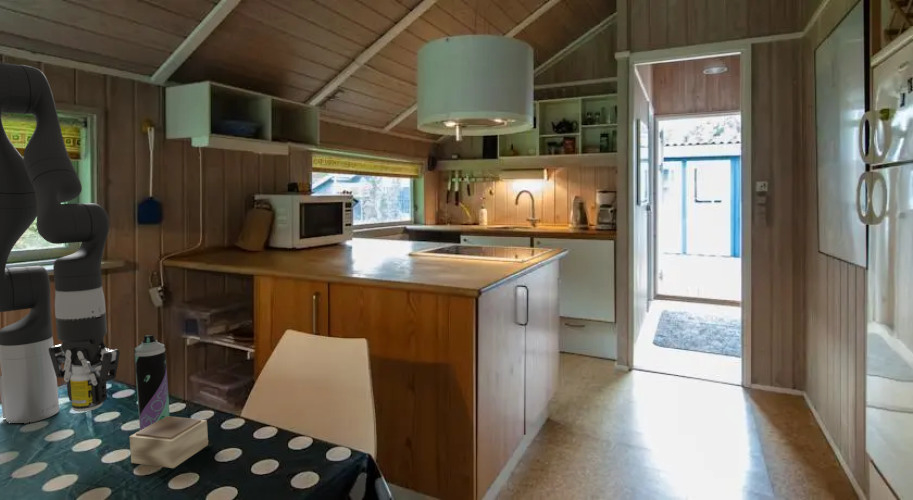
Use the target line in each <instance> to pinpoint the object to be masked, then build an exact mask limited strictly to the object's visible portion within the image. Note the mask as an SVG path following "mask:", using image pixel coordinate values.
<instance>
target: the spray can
mask: <svg viewBox="0 0 913 500" xmlns="http://www.w3.org/2000/svg"><path fill="white" fill-rule="evenodd" d="M154 336H155V335H154V334H152V335H144V336H143V340H142V341H141V343H140V344H139V345H138V346H136V347H134V352H133V356H134V366H135V368H134V369H135V381H136V393H137V394H136V397H137V409H138V411H137V412H138V419H139V420H138V421H139V431H140V430H142V429H144V428H146V427H148V426H150V425H152V424H153V423H155V422H157V421H159V420H161V419H163V418H165V417H166V416H171V414H170V400H169V388H168V387H169V386H168V373H167V372H168V371H167V359H166V358H167V357H166V356H167V355H166V347H165V344H164V343H160V342H158V340H157V339H156V338H155V337H154Z"/></svg>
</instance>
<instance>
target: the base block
mask: <svg viewBox="0 0 913 500" xmlns="http://www.w3.org/2000/svg"><path fill="white" fill-rule="evenodd" d="M208 435H209V434H208V420H207V419H199V418H191V417H189V418H188V417H180V416H171V415H170V416H166V417H165V418H163V419H161V420H159V421H157V422H155V423H153V424H152V425H150V426H148V427H146V428H144V429H142V430H140V429H139V431H136V432H135V433H133V434H131V435H130V436H128V437H129V450H130V462H131V464H138V465H139V464H140V465H146V466H155V467H162V468H169V469H175V468H176V467H178V466H179V465H181V464H182V463H184V462H185V461H186V460H188V459H189V458H191V457H192V456H194V455H195V454H197V453H198V452H200V451H201V450H203V449H204V448H206V447H208V446H209V437H208Z"/></svg>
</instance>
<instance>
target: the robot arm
mask: <svg viewBox="0 0 913 500" xmlns="http://www.w3.org/2000/svg"><path fill="white" fill-rule="evenodd" d="M2 113H7V114H21V115H33V116H34V119H35V122H36V125H35V128H34V131H33V133H32V135H31V137H30V138H29V140H28V142H27V143H26V146H25V149H24V153H23V156H22V155H21V153H20V151H18V150H17V148H16V147H15V146H14V143H12V141H11V140H10V138H9V137H8V134H7V133H6V130H5V128H4V125H3V120H2ZM61 128H62V127H61V125H60V120H59V115H58V111H57V108H56V103H55V100H54V96H53V92H52V89H51V86H50V84H49V80H48V79H47V77H46V75H45V74H44V73H43V72H42V71H41V69H39V68H37V67H33V66H29V65H25V64H16V63H8V62H0V313H3V312H4V313H5V312H11V311H20V310H29V309H30V311H29V312H28V313H27V315H25V316H23V317H22V318H21V319H19V320H17V321H15V322H14V323H11V324H8V325H7V326H5V327H2V328H1V329H0V372H1V376H0V400H1V411H2V419H3V418H6V419H5V420H6V421H7V422H10V423H24V424H30V423H35V422H39V421H43V420H45V419H48V418H50V417H53V416H54V415H56V414H57V413H59V412H60V404H59V389H58V380H57V379H64V382H65V383H66V388H67V389H66V390H67V396H68V400H69V401H70V402H72V395H71V381H70V378H71V376H72V375H73V373H72V365H79V366H83V368H84V370H85V373H86V374H88V375H89V377H90V379H91V382H92V384H93V385H91V387H92V400H93V404H99V403H102V402H103V403H104V402H105V401H106V400H107V397H108V391H107V382H108V381H111V380H114V379H116V377H117V371H118V366H119V359H120V353H121V352H120V350H119V349H117V348H115V349H111V348H110V349H109V348H108V347H107V345H106V344H105V341H104V338H105V336H106V335H107V333H108V328H107V327H108V326H107V325H108V324H107V313H106V310H107V309H106V298H105V293H104V290H103V279H102V278H103V277H102V276H103V275H102V260H103V255H104V252H105V251H104V250H105V247H106V242H107V239H108V235H109V230H110V218H109V215H108V212H107V211H106V209H104V207H102V206H101V205H100V204H97V203H92V202H87V203H85V202H84V203H83V202H81V203H79V202H78V203H67V202H70V201H72V200H75V199H76V198H78V197H79V196H80V195H81V193H82V190H83V189H82V187H83V186H82V182H81V181H80V178H79V176H78V173H77V171H76V169H75V167H74V164H73V162H72V160H71V158H70V155H69V152H68V150H67V147H66V144H65V141H64V137H63V132H62V129H61ZM34 221H36V229H37V232H38V234H39V236H40V237H41V238H42V239H43V240H45V241H46V242H48V243H50V244H56V245H61V244H63V245H64V244H72V243H75V244H76V243H81V244H80V246H79V247H78V250H76V252H75V251H74V253H71V254H69V255H65V256H64V255H63V256H60V257H59V258H57V259H55V260H54V261H53V279H54V292H55V293H54V311H55V312H54V314H55V325H56V338H57V340H58V341H59V342H62V343H60V344H57V345H54V339H53V336H54V335H53V324H52V310H51V309H52V306H51V281H50V276H49V273H48V271H47V269H46V268H45V267H44V266H42V265H30V266H29V265H28V266H27V265H26V266H15V267H6V266H7V263H8V258H9V257H10V254H11V252H12V250H13V249H14V247H15V246H16V244H17V242H18V241H19V240H20V239H21V237H22V236H23V235H24V234H25V233H26V231H28V229H29V228H30V227H31V225H32V224H33V223H34ZM97 363H98V366H97V367H95V368H92V367H91V366H93V365H96V364H97ZM62 364H63V369H62V366H61V365H62ZM96 371H98V372H99V375H100V377H97V374H96ZM6 421H5V422H6ZM7 422H6V423H7ZM29 422H30V423H29ZM10 423H9V424H10Z"/></svg>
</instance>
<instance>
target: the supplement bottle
mask: <svg viewBox="0 0 913 500" xmlns="http://www.w3.org/2000/svg"><path fill="white" fill-rule="evenodd" d="M97 366H98V363H97V364H96V365H93V366H91V367H92V368H95V367H97ZM72 373H73V375H72V376H71V378H70V381H71V395H72V401H71V405H72V410H73V411H74V412H88V411H89V412H90V411H93V410H96V409H98V408H100V407H101V406H102V405H103V404H104V402H102V403H99V404H93V400H92V387H91V385H93V384H92V382H91V379H90V377H89V375H88V374H86V373H85V370H84V368H83V366H79V365H72ZM96 374H97V377H100V375H99V372H98V371H96Z"/></svg>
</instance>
